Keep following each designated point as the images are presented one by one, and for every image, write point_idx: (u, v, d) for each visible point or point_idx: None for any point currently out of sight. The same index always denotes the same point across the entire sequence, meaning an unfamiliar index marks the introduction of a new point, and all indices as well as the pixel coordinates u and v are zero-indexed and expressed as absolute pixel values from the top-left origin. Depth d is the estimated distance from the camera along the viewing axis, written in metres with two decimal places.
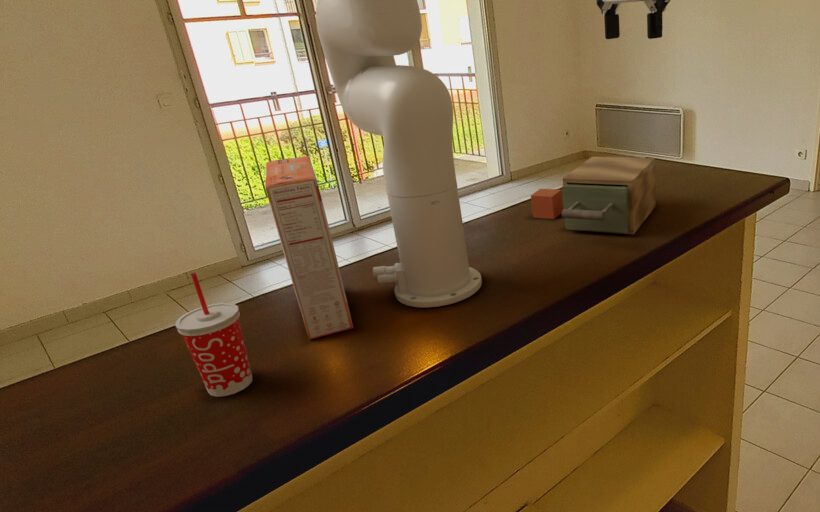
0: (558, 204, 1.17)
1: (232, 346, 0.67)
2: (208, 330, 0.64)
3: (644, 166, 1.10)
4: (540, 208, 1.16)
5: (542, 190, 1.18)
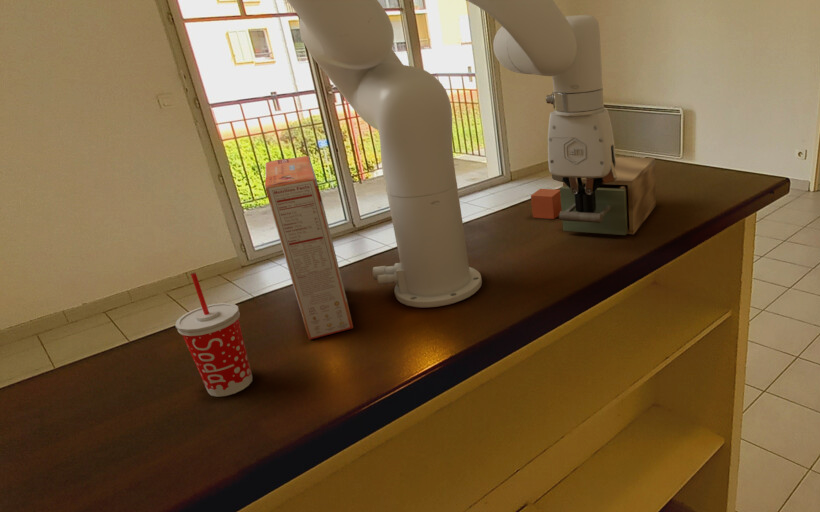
0: (558, 204, 1.17)
1: (232, 346, 0.67)
2: (208, 330, 0.64)
3: (644, 166, 1.10)
4: (540, 208, 1.16)
5: (542, 190, 1.18)
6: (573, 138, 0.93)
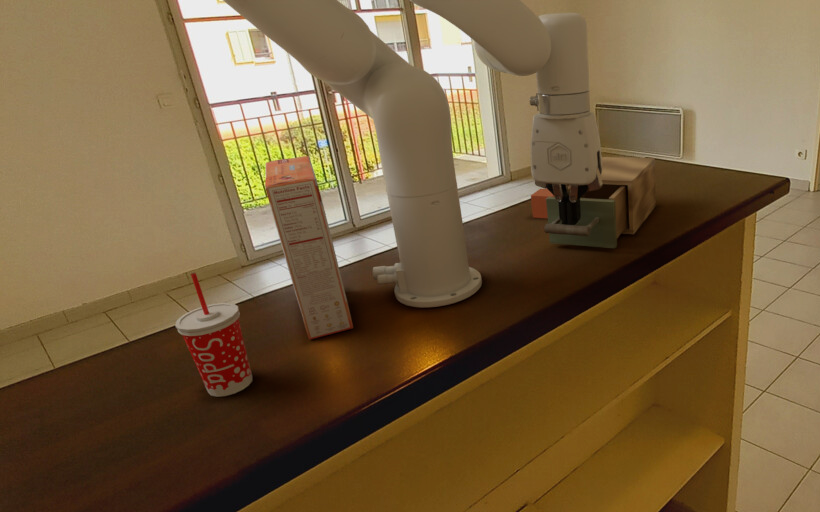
0: None
1: (232, 346, 0.67)
2: (208, 330, 0.64)
3: (644, 166, 1.10)
4: (540, 208, 1.16)
5: (542, 190, 1.18)
6: (557, 142, 0.88)
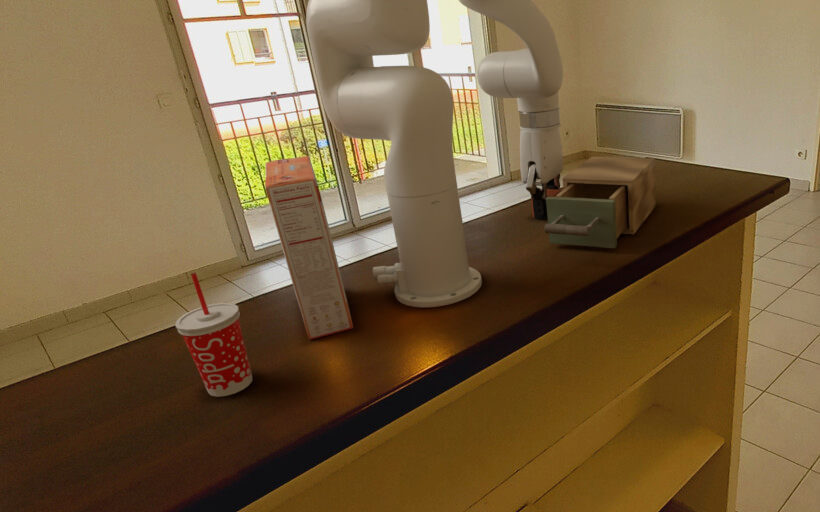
0: None
1: (232, 346, 0.67)
2: (208, 330, 0.64)
3: (644, 166, 1.10)
4: None
5: None
6: None
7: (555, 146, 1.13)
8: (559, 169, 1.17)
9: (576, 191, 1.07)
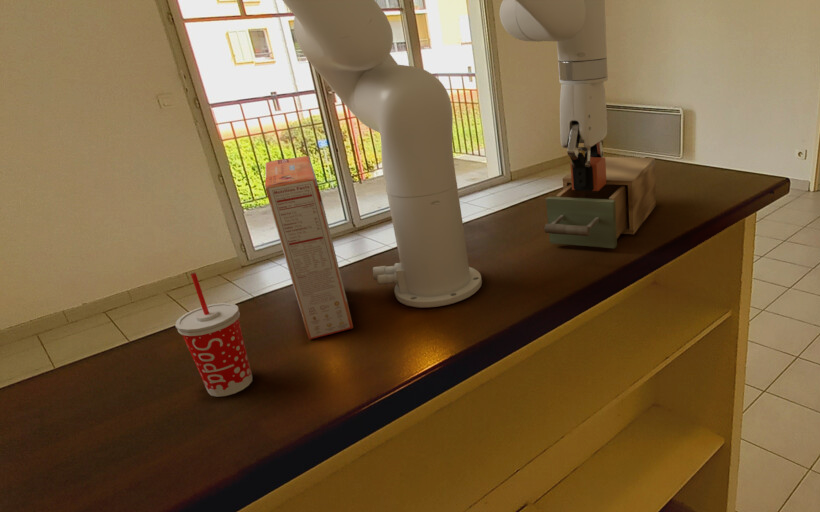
0: (602, 174, 1.00)
1: (232, 346, 0.67)
2: (208, 330, 0.64)
3: (644, 166, 1.10)
4: None
5: None
6: None
7: (600, 104, 0.96)
8: (603, 133, 0.99)
9: (576, 191, 1.07)
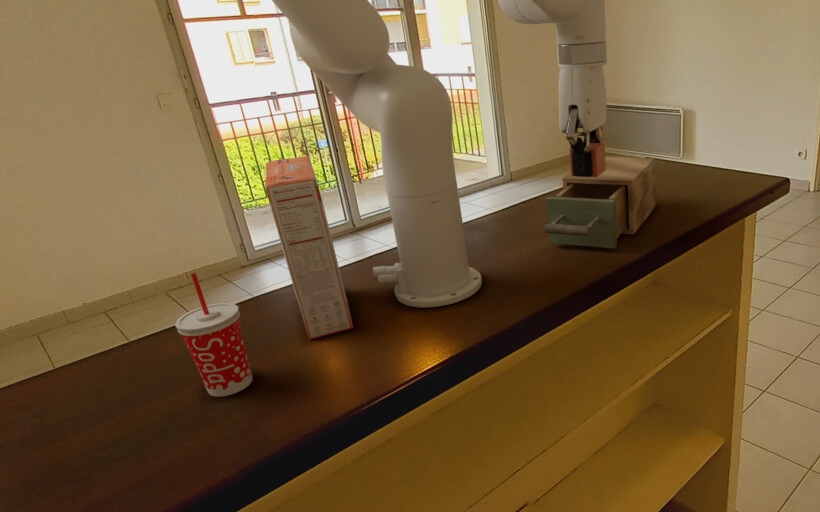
0: (601, 160, 0.99)
1: (232, 346, 0.67)
2: (208, 330, 0.64)
3: (644, 166, 1.10)
4: None
5: None
6: None
7: (600, 89, 0.95)
8: (603, 119, 0.98)
9: (576, 191, 1.07)
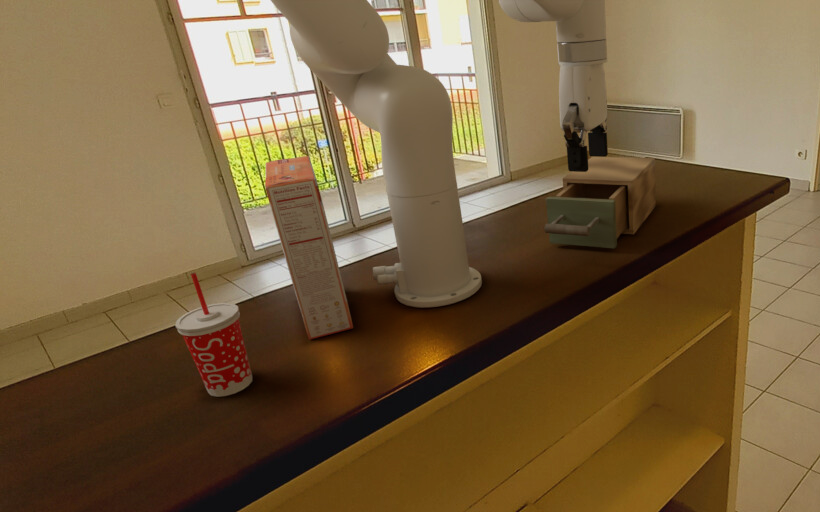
0: None
1: (232, 346, 0.67)
2: (208, 330, 0.64)
3: (644, 166, 1.10)
4: None
5: None
6: None
7: (600, 87, 0.95)
8: (603, 116, 0.98)
9: (576, 191, 1.07)
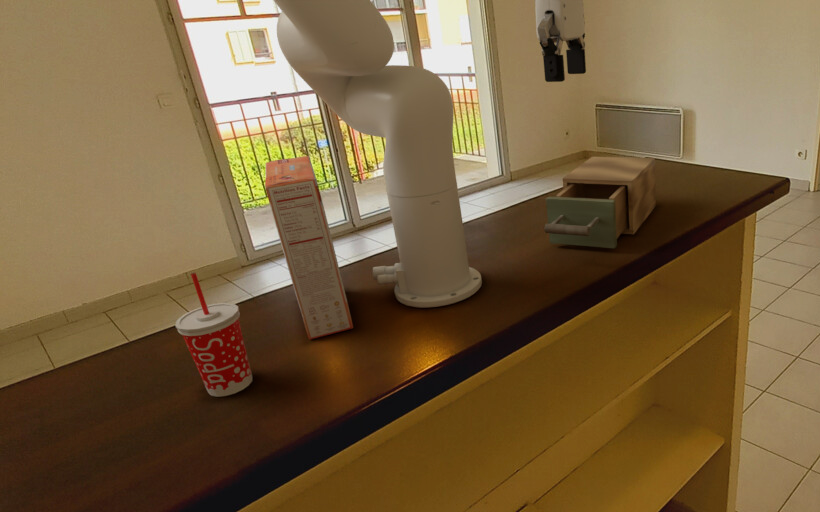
0: None
1: (232, 346, 0.67)
2: (208, 330, 0.64)
3: (644, 166, 1.10)
4: None
5: None
6: None
7: None
8: (580, 30, 1.00)
9: (576, 191, 1.07)
